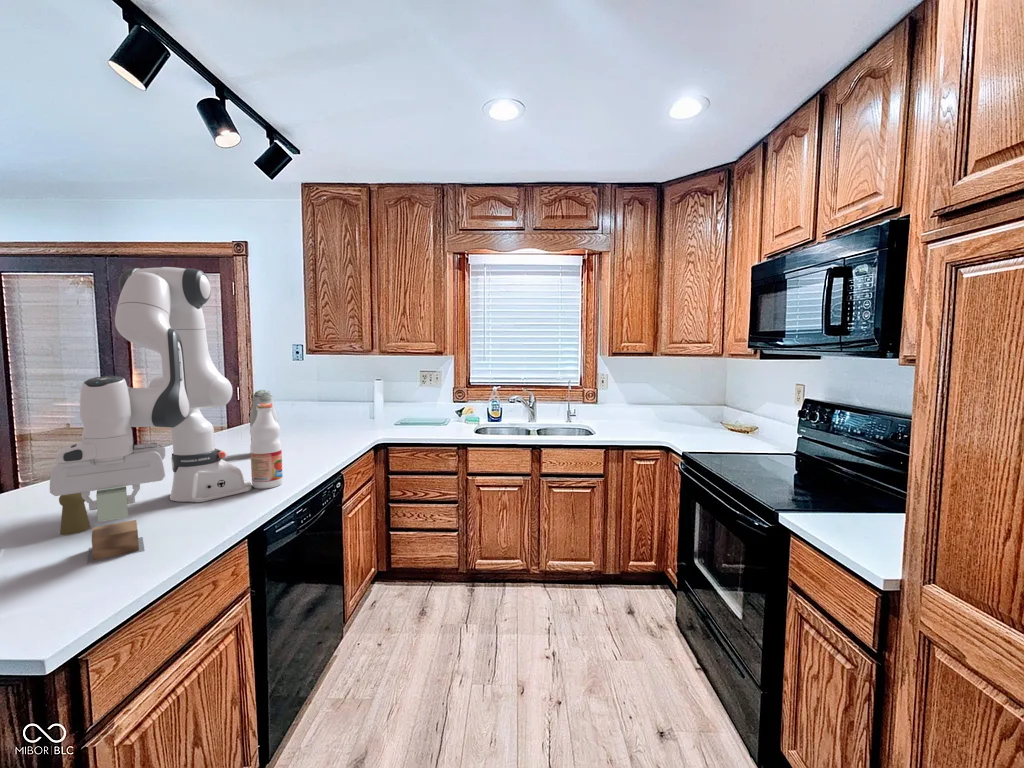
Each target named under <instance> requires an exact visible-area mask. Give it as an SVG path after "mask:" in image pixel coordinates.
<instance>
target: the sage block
mask: <svg viewBox="0 0 1024 768" xmlns="http://www.w3.org/2000/svg"><path fill="white" fill-rule="evenodd" d="M127 494H128V493H127V486H122V487H115V488H108V489H101V490H96V494H95V496H96V500H97V509H96V511H97V523H100V522H106V521H112V520H118V519H119V520H120V519H123V518H129V510H128V509H129V508H128V504H127Z"/></svg>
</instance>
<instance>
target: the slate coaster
mask: <svg viewBox="0 0 1024 768" xmlns="http://www.w3.org/2000/svg"><path fill="white" fill-rule="evenodd" d="M138 543H139V551H135V552H130V553H126V554H121V555H117V556H112V557H108V558H103V559H99V560H94V561H93V550H92V547H88V553H87V559H86V560H87V561H86V564H87V565H88V564H92V563H97V562H101V561H106V560H110V559H114V558H119V557H120V558H121V557H123V556H128V555H133V554H137V553H141V552H145V545H144V538H143V537H142V536H141V537H138Z"/></svg>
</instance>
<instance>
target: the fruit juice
mask: <svg viewBox="0 0 1024 768" xmlns="http://www.w3.org/2000/svg"><path fill="white" fill-rule="evenodd" d="M256 410H257V417H256V420H255V422H254V423H253V425H252V426H251V428H250V427H249V430H250V431H249V433H250V434H249V435H250V438H251V437H252V442H251V441H250V451H249V452H250V469H251V485H252V488H254V489H262V490H264V489H272V488H276V487H279V486H281V485H282V484H283V478H284V477H283V460H282V459H283V455H282V441H281V439H280V433H281V426H280V424H279V423H278V421H277V422H276V421H275V420H274V418H273V415H272V411H271V410H272V404H269V403H265V404H257V405H256Z"/></svg>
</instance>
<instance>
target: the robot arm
mask: <svg viewBox="0 0 1024 768" xmlns="http://www.w3.org/2000/svg"><path fill="white" fill-rule="evenodd" d="M117 286H118V291H119V293H120V295H119V299H118V301H117V305H116V310H115V316H114V325H115V328H116V330H117V331H118V333H119V334H120V336H122V337H123V338H124V339H125V340H127V341H128V342H130V343H132V344H134V345H136V346H139V347H141V348H145V349H148V350H151V351H153V352H157V353H158V354H159V355H160V358H161V367H162V369H161V370H162V374H161V375H158V376H156V377H154V378H153V379H152V380H151V381H150V382H149V385H148V387H130V386H128V384H127V381H126V379H125V378H124V377H123V376H118V375H104V376H97V377H96V376H95V377H92V378H89V379H87V380H84V381H83V383H82V385H81V388H80V389H81V390H80V396H79V415H80V420H81V423H82V428H83V431H82V434H81V441H80V442H77V443H74V444H72V445H69V446H65V447H62V448H60V449H59V450H58V451H56V453H55V460H56V463H55V464H54V466H53V467H52V469H51V473H50V479H49V493H50V494H51V495H52V496H54V497H60V496H61V495H67V494H74V493H81V495H82V498H83V499H84V500H85V502H86V503H87V504H88V510H89V511H97V499H96V500H93V499H92V498H91V497H90V495H91V492H93V491H97V490H101V489H108V488H115V487H122V486H126V487H127V486H131V487H132V490H133V491H132V492H131V494H128V495H127V505H131V504H135V503H136V498H135V497H136V496H137V494H138V492H140V489H141V484H148V483H155V482H160V481H163V480H164V479H165V478H166V470H165V466H164V461H163V460H164V459H165V457H166V448H165V446H164V445H162V444H159V443H157V442H150V443H139V444H134V437H133V436H134V435H133V429H132V427H133V428H140V427H141V428H147V427H155V428H156V427H157V428H169V429H170V433H171V441H172V442H171V443H172V453H171V458H170V459H171V470H172V471H173V476H172V477H173V479H172V486H171V492H170V496H169V499H170V500H171V501H174V502H184V503H185V502H190V503H204V502H207V501H212V500H216V499H220V498H225V497H229V496H232V495H237V494H242V493H246V492H249V491H251V490H252V488H253V486H252V482H250V481H249V480H247V479H244V475H243V472H242V469H240V468H239V467H238V466H236V465H234V464H232V463H230V462H228V461H227V460H224V459H225V458H226V456H227V453H226V452H225V451H223V450H221V449H218V448H216V446H215V444H216V443H215V428H214V427H215V426H214V425H213V424H212V423H211V422H210V421H209V420H208V419H206V418H205V417H204V415H203V414H202V411H201V409H202V410H205V409H206V410H211V409H217V408H221V407H224V406H226V405H228V404H229V403H230V401H231V399H232V397H233V392H234V391H233V386H232V384H231V383H232V382H230V381H229V379H228V378H226V377H225V376H224V375H222V374H221V373H220V371H219V370H218V368H217V367H216V366H215V364H214V362H213V359H212V357H211V354H210V351H209V345H208V339H207V328H206V320H205V316H204V311H203V308H202V307H203V305H205V304H206V303H207V302H208V301H209V299H210V298H211V291H212V290H211V289H212V287H211V282H210V280H209V277H208V275H206V274H205V273H204V271H203V270H200V269H196V268H193V267H192V268H191V267H187V268H182V267H171V266H162V267H146V268H140V267H135V268H129V269H126V270H124V271H123V272H122V273H121V275H119V277H118V285H117Z"/></svg>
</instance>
